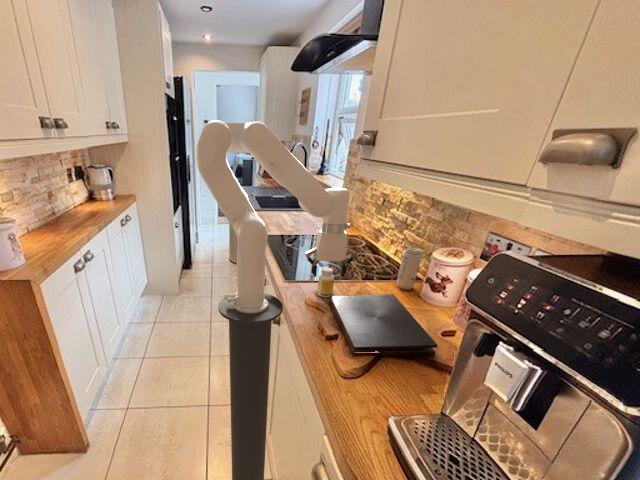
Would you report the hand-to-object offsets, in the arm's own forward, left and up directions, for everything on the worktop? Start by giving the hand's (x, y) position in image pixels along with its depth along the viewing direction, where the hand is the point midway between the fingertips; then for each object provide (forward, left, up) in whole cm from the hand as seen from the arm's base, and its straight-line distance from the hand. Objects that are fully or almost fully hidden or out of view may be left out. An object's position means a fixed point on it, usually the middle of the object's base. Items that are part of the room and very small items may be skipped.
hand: (328, 275), depth 116 cm
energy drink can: (+32, +8, -8) cm, 33 cm away
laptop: (+11, -22, -8) cm, 26 cm away
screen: (+11, -22, -5) cm, 25 cm away
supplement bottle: (0, 0, -8) cm, 8 cm away
